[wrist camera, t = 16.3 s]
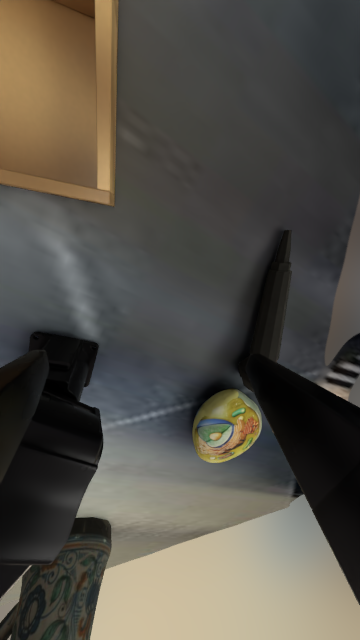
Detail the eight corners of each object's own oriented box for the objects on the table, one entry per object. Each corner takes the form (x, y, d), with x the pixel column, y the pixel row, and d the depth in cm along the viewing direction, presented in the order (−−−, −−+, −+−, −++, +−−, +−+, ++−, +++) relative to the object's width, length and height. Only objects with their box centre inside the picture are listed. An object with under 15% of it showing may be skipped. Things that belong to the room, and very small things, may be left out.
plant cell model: (185, 461, 33) (203, 447, 22) (186, 412, 38) (202, 380, 27) (247, 467, 34) (296, 455, 22) (240, 418, 39) (278, 388, 28)
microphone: (253, 232, 23) (233, 374, 30) (268, 227, 18) (240, 402, 25) (302, 232, 22) (270, 377, 30) (333, 228, 17) (286, 406, 24)
